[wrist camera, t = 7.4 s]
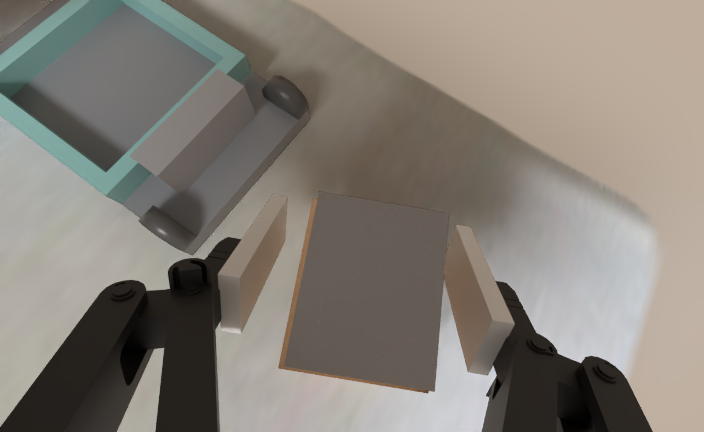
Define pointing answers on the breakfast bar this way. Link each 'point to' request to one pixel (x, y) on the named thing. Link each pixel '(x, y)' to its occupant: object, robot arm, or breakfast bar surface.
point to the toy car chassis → (147, 110)
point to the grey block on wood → (368, 293)
